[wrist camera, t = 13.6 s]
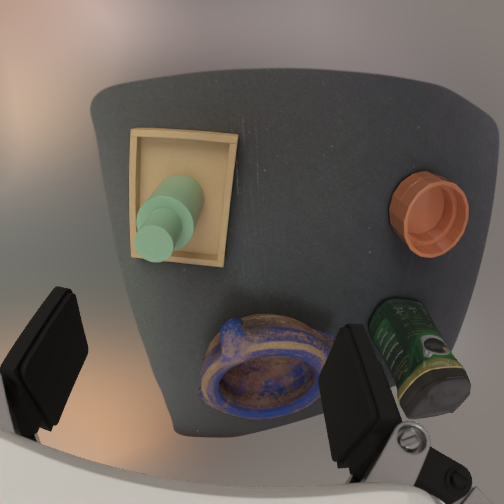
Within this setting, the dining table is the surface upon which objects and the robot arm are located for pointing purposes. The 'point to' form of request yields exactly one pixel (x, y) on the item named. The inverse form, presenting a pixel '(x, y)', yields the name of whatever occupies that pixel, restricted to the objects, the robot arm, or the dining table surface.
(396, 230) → the clay bowl
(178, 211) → the bottle
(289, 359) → the bowl
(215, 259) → the tray
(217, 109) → the dining table surface
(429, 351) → the coffee jar
